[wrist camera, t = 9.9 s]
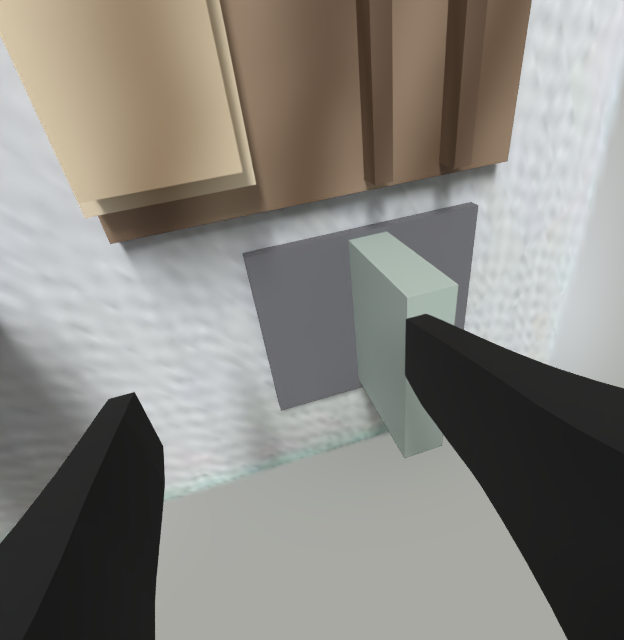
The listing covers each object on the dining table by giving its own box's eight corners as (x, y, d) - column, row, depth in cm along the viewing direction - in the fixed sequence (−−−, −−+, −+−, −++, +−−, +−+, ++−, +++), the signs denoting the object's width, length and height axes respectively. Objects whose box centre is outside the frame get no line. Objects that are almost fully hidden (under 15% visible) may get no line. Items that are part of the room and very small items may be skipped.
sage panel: (358, 379, 23) (404, 458, 18) (348, 240, 18) (407, 297, 13) (389, 370, 24) (441, 445, 19) (387, 231, 19) (458, 284, 14)
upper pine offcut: (89, 191, 13) (79, 203, 12) (-73, -179, 8) (-119, -224, 7) (238, 164, 14) (242, 172, 12) (160, -188, 9) (156, -231, 8)
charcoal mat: (279, 403, 23) (281, 410, 23) (242, 253, 18) (244, 258, 17) (454, 352, 25) (460, 357, 25) (471, 202, 20) (478, 205, 19)
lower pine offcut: (93, 206, 14) (85, 218, 13) (-67, -156, 9) (-106, -193, 8) (250, 176, 15) (256, 184, 14) (180, -168, 10) (179, -202, 9)
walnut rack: (114, 235, 16) (105, 255, 14) (-86, -228, 9) (-152, -303, 8) (493, 157, 19) (525, 165, 17) (545, -241, 12) (608, -298, 10)
